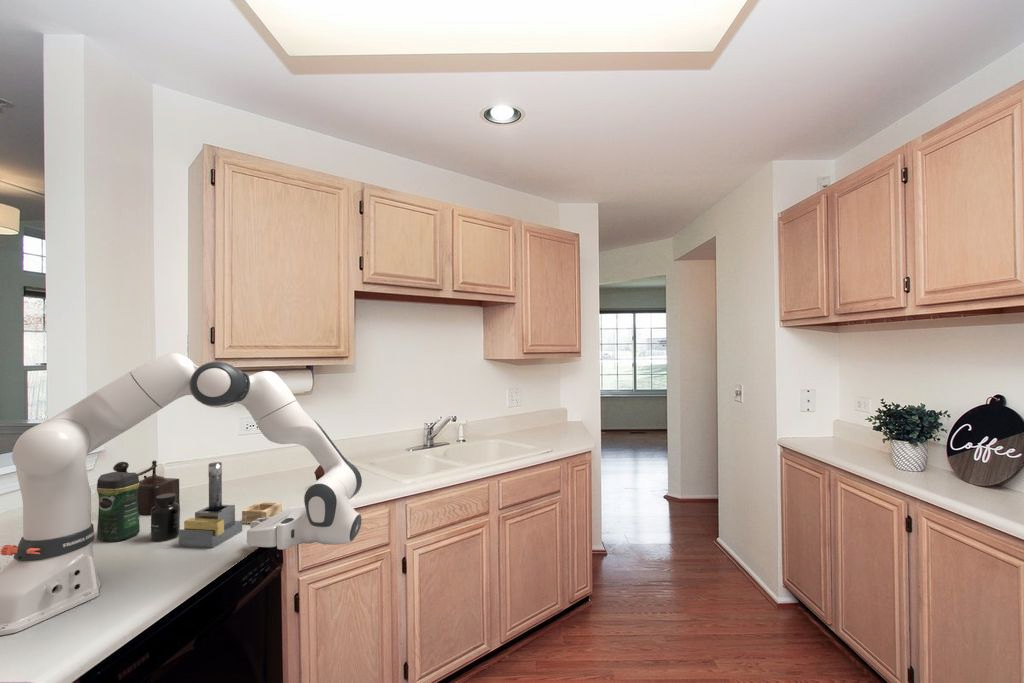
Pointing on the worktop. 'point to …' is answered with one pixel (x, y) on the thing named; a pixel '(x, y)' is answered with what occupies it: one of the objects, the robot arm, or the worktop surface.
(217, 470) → the grey cylinder
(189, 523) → the yellow rectangular block
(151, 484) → the manual coffee grinder
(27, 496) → the robot arm
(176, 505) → the supplement bottle
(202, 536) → the socket
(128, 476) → the coffee jar
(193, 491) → the worktop surface
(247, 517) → the open box
